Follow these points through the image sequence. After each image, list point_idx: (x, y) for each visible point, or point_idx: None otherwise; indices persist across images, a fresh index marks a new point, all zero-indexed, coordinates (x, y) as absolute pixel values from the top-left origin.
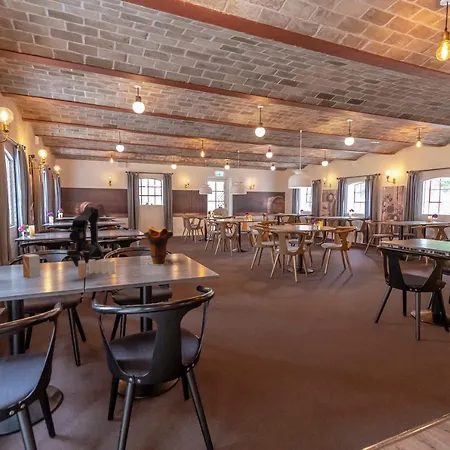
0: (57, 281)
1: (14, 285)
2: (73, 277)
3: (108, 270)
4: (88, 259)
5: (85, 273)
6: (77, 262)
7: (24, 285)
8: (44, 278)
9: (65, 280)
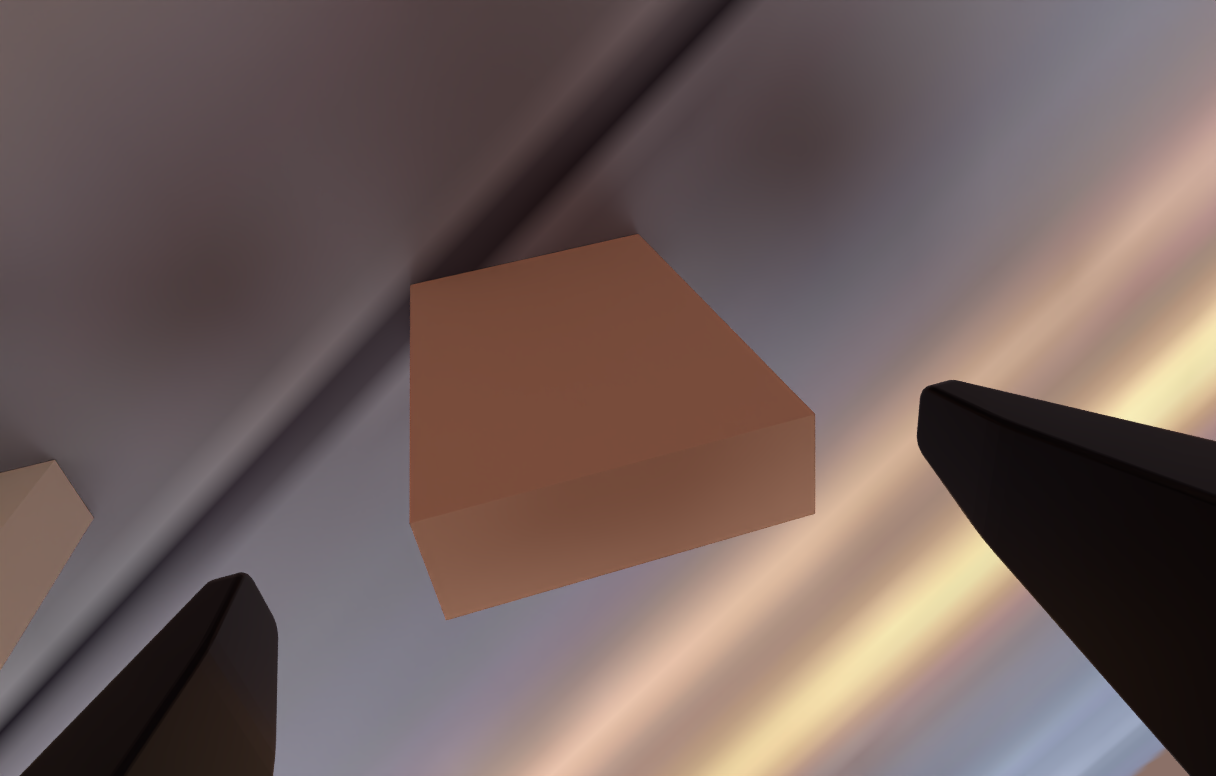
0: None
1: None
2: None
3: None
4: (89, 744)
5: (440, 314)
6: (1183, 437)
7: None
8: (802, 759)
9: (860, 403)
